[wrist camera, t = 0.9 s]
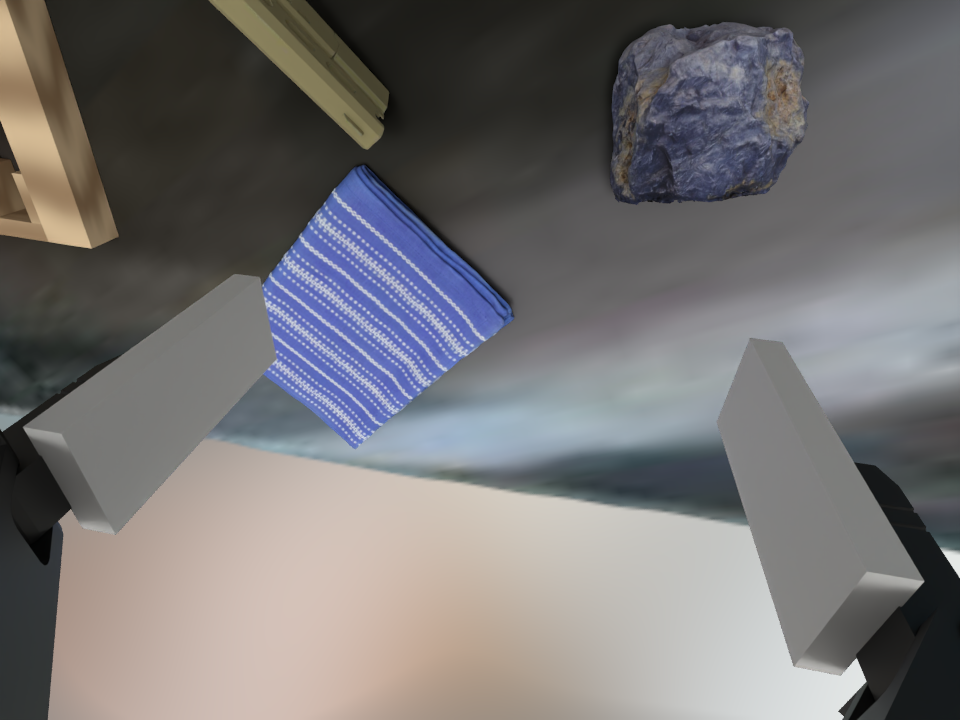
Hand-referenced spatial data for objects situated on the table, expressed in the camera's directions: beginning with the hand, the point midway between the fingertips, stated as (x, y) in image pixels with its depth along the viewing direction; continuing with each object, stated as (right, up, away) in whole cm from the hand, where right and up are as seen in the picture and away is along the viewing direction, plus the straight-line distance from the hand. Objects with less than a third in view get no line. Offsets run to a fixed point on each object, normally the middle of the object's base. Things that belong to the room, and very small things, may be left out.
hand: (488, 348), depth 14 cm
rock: (+14, +16, +19) cm, 28 cm away
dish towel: (-11, +3, +33) cm, 34 cm away
